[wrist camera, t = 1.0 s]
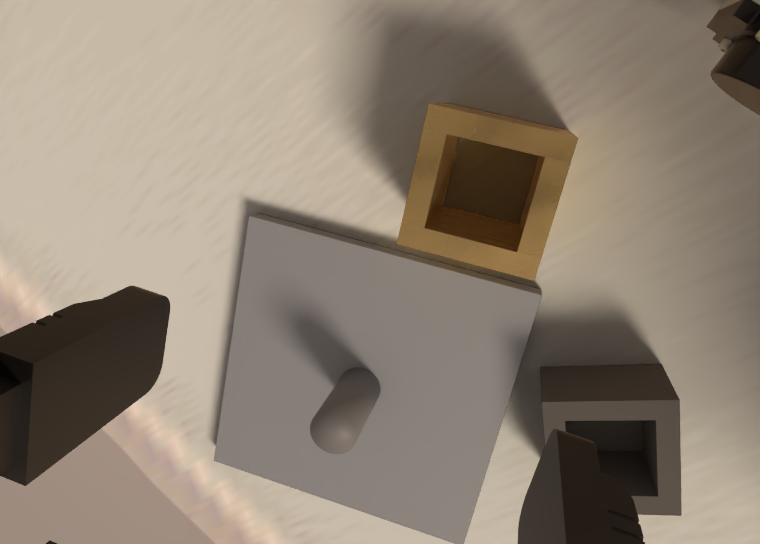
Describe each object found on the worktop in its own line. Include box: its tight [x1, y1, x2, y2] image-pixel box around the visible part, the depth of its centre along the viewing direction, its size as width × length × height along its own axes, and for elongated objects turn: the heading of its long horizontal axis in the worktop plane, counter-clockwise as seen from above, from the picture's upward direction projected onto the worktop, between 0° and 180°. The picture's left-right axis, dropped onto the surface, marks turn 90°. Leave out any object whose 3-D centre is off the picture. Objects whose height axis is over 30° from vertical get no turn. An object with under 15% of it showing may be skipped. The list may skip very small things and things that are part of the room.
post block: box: [214, 213, 542, 544], centre depth 32 cm, size 16×16×6 cm
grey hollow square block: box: [540, 364, 681, 516], centre depth 31 cm, size 6×6×4 cm
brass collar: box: [397, 103, 578, 281], centre depth 28 cm, size 6×6×6 cm
